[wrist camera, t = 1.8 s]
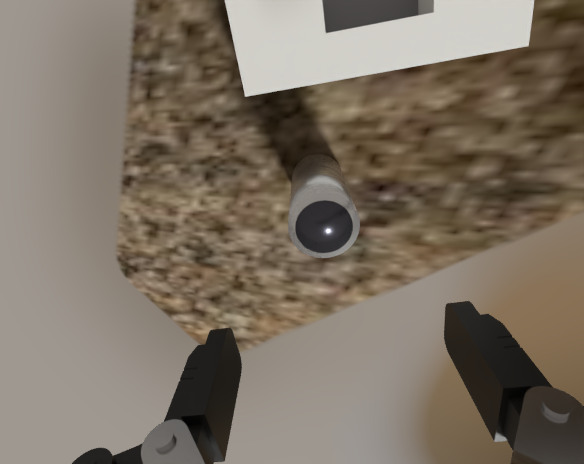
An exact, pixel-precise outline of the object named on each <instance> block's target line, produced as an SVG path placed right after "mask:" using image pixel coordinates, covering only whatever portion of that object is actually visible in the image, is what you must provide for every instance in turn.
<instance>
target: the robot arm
mask: <svg viewBox="0 0 584 464" xmlns="http://www.w3.org/2000/svg"><path fill="white" fill-rule="evenodd" d="M444 339H445V344H446V348H447V350H448V353H449V355H450V357H451V359H452V361H453V363H454V365H455V367H456V369H457V370H458V372H459V374H460V376H461V378H462V380H463V382H464V384H465V386H466V388H467V390H468V392H469V394H470V396H471V398H472V399H473V401H474V403H475V405H476V407H477V409H478V411H479V413H480V415H481V417H482V419H483V421H484V423H485V425H486V426H487V428H488V430H489V432H490V434H491V436H492V438H493V440H494V441H495V442H497V441H508V443H509V445H510V446H511V448H512V450H513V453H512V458H511V463H510V464H584V406H582V405H581V403H580V402H579V401H577V400H576V399H575V398H574V397H572V396H571V395H569V394H567V393H565V392H564V391H561V390H559V389H556V388H553V387H552V386H551V385H550V383H549V382H548V381H547V379H546V378H545V377H544V376H543V374H542V373H541V372H540V370H539V369H538V368H537V367H536V366H535V364H534V363H533V362H532V360H531V359H530V358H529V356H528V355H527V354H526V353H525V351H524V350H523V349H522V348H520V345H519V344H518V343H517V341H516V340H515V339H514V338H512V335H511V334H510V332H509V331H508V330H507V329H506V327H505V326H504V325H503V324H502V323H501V322H500V321H498V320H497V319H495V318H494V317H492V316H491V315H489V314H485V315H480V314H479V313H478V311H477V310H476V309H475V307H474V306H473V304H472V303H471V302H469V301H465V302H457V303H448V304H446V308H445V328H444ZM241 369H242V364H241V357H240V353H239V350H238V347H237V344H236V341H235V337H234V334H233V331H232V329H231V328H223V329H215V330H211V331H210V332H209V335H208V338H207V341H206V344H205V345H198V346H197V347H196V348H195V350H194V351H193V352H192V353H191V355H190V356H189V357H188V360H187V362H186V365H185V368H184V371H183V373H182V375H181V378H180V381H179V384H178V386H177V389H176V392H175V394H174V397H173V399H172V402H171V404H170V407H169V410H168V412H167V415H166V418H165V420H164V422H163V423H161V424H159V425H158V426H156V427H155V428H154V429H153V430H152V431H151V432H150V433H149V434H148V435H147V437H146V438H145V440H144V442H143V443H142V444H140V445H139V446H136V447H134V448H131V449H129V450H126V451H124V452H122V453H119V454H117V455H114V456H112V454H111V452H110V451H109V450H107V449H105V448H96V449H93V450H90V451H88V452H86V453H84V454H83V455H81V456H80V457H78V458H77V459H76V460H75V461H74V462H73V463H72V464H213V463H214V462H223V461H225V456H226V450H227V445H228V441H229V435H230V430H231V425H232V419H233V414H234V408H235V403H236V398H237V393H238V388H239V382H240V377H241Z"/></svg>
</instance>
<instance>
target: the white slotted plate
mask: <svg viewBox="0 0 584 464" xmlns="http://www.w3.org/2000/svg"><path fill="white" fill-rule="evenodd" d="M225 4H226V9H227V13H228V18H229V23H230V28H231V32H232V37H233V42H234V46H235V51H236V56H237V60H238V65H239V70H240V75H241V79H242V84H243V89H244V93H245V97H247V96H253V95H258V94H264V93H270V92H275V91H281V90H286V89H292V88H297V87H303V86H308V85H314V84H320V83H325V82H331V81H336V80H342V79H347V78H353V77H358V76H364V75H370V74H375V73H381V72H386V71H392V70H397V69H403V68H409V67H414V66H420V65H425V64H431V63H436V62H442V61H447V60H453V59H459V58H464V57H470V56H475V55H481V54H486V53H492V52H497V51H503V50H509V49H514V48H520V47H525V46H529V38H530V30H531V22H532V14H533V6H534V0H225Z"/></svg>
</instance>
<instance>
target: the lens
mask: <svg viewBox="0 0 584 464" xmlns="http://www.w3.org/2000/svg"><path fill="white" fill-rule="evenodd" d="M359 229H360V220H359V216H358V213H357V210H356V208H355V205H354V202H353V200H352V197H351V194H350V192H349V189H348V187H347V184H346V181H345V179H344V176H343V173H342V171H341V168H340V166H339V165H338V163H337V162H336V161H335V160H334V159H333V158H331V157H329V156H327V155H324V154H312V155H309V156H307V157H305V158H303V159H302V160H301V161H299V163H298V164H297V165H296V167H295V169H294V171H293V175H292V186H291V198H290V210H289V221H288V230H289V235H290V238H291V240H292V242H293V243H294V245H295V246H296V247H297V248H298V249H299V250H300V251H302V252H303V253H305V254H307V255H310V256H313V257H318V258H329V257H333V256H337V255H339V254H341V253H343V252H345V251H346V250H347V249H349V248H350V247H351V246H352V244H353V243H354V242H355V240H356V238H357V236H358V233H359Z"/></svg>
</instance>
